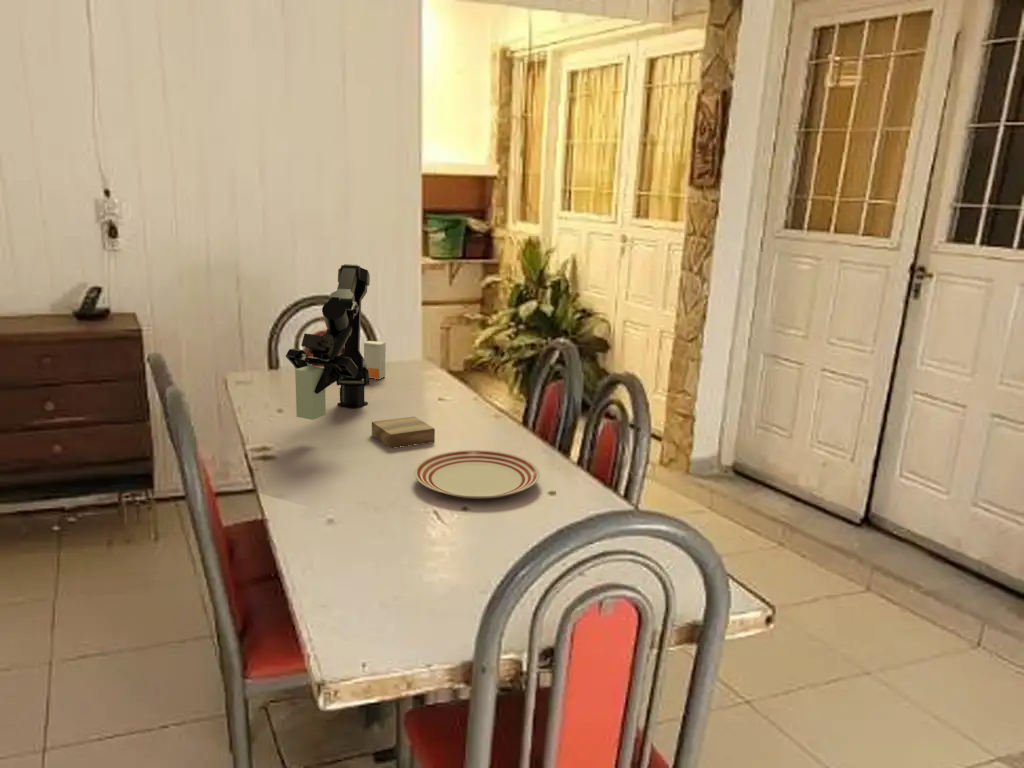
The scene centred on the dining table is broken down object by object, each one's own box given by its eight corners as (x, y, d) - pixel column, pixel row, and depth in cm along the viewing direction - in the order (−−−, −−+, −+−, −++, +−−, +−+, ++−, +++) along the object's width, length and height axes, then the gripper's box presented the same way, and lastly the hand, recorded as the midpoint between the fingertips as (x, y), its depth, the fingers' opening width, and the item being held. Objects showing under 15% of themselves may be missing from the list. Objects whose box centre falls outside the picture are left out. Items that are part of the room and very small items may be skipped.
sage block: (325, 414, 204) (324, 368, 201) (312, 419, 200) (311, 372, 197) (309, 411, 206) (308, 365, 203) (296, 416, 202) (295, 369, 199)
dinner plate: (526, 514, 165) (527, 499, 164) (396, 499, 170) (397, 484, 169) (548, 470, 191) (548, 456, 190) (435, 457, 196) (435, 444, 195)
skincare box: (363, 378, 269) (363, 342, 266) (369, 375, 273) (369, 340, 270) (380, 380, 267) (380, 344, 264) (386, 377, 271) (386, 342, 268)
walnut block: (371, 436, 211) (371, 421, 210) (414, 430, 217) (414, 416, 216) (390, 450, 201) (390, 434, 200) (434, 443, 207) (434, 428, 206)
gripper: (289, 316, 205) (260, 368, 198) (350, 324, 197) (322, 378, 190) (310, 342, 213) (283, 392, 207) (369, 351, 206) (343, 403, 199)
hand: (307, 391), depth 200 cm, fingers closed on sage block, 5 cm apart
